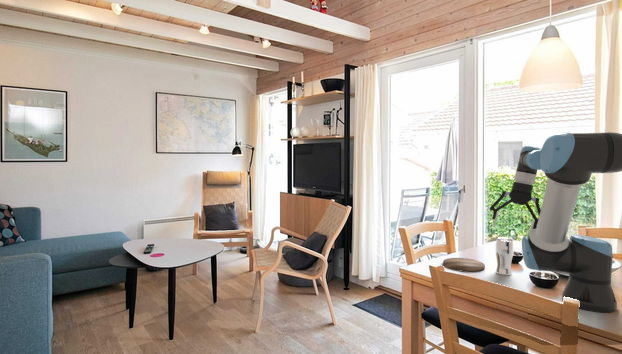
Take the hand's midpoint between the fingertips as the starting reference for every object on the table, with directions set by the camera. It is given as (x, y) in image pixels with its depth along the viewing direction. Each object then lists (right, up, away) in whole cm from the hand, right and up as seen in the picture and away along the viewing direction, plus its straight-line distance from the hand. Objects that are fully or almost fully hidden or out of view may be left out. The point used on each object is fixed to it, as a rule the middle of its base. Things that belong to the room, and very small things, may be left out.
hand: (511, 231), depth 156 cm
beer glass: (-1, -19, +4) cm, 20 cm away
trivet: (-14, -18, +15) cm, 28 cm away
